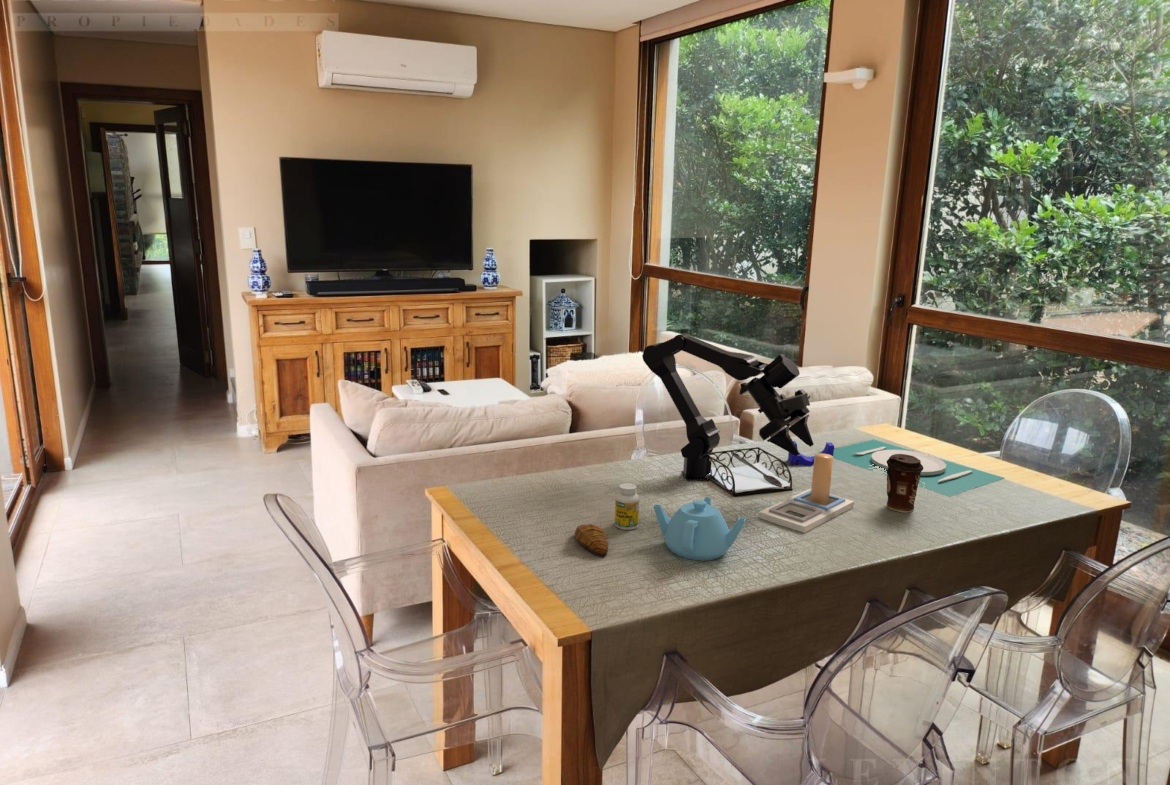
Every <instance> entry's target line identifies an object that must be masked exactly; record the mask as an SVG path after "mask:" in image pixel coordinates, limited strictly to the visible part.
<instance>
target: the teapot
mask: <svg viewBox="0 0 1170 785" xmlns="http://www.w3.org/2000/svg"><path fill="white" fill-rule="evenodd" d="M711 499H712V498H711V497H710V496H709V497H708V496H705V497H704V499H703V500H701V499H696V500H693V501H692V502H688V503H687V502H686V503H684V504H682V505H681V506H680V507H679V508H678V509H677V510H676V511H675V512H674V514H673V515H672V517H671V518H670V517H669V515H668V514H667V512H666V511H665V509H664V508H663V505H662V504H658V503H657V504H653V507H652V508H653V510H654V513H655V516H656V519H657V523H658V525H659V527H660V531H661V534H662V536H664V541H665V544H666V546H667V547H668V549H669V550H670V551H671V552H672V553H673V554H675V555H676V556H679V557H680V558H684V559H686V560H692V561H693V560H694V561H710V560H711V561H712V560H716V559H718V558H720V557H722V556H723V555H724V554H725V553H726V552H727V551H728V550H730V549H729V548H731V546H732V545H733V544H734V542H735V540H736V539H737V537H738V535H739V534H740V532H741V530H742V528H743V527H744V525H745V523H746V521H747V518H745V517H738V518H737V521H736V522H735V523H734V525H733V526H732V528H731V529H730V528H729V527H728V523H727V522H726V519H724V516H723V515H722V513H721V511H720V510H719V509H718V508H717V507H716V506H714V505H712V502H711V501H712V500H711Z"/></svg>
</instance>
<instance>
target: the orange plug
mask: <svg viewBox="0 0 1170 785" xmlns="http://www.w3.org/2000/svg"><path fill="white" fill-rule="evenodd" d="M814 456H815V457H814V464H813V468H812V478H811V496H810V501H811V502H815V503H818V504H821V505H825V506H827V505H829V494H831V493H830V492H831V485H832V484H831V483H832V472H833V466H834V465H833V463H834V458H833V456H831V455H829V454H822V453H819V452H818V453H815V454H814Z"/></svg>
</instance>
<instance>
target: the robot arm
mask: <svg viewBox="0 0 1170 785" xmlns="http://www.w3.org/2000/svg"><path fill="white" fill-rule="evenodd" d="M681 351H682V352H684V353H687V354H688V355H689V354H690V355H692V356H693V357H696V358H699V359H701V360H703V361H706V362H707V363H711V364H713V365H714V366H718V367H719V368H721V369H722V370H723V371H724V373H725V374H727V375H728V376H730V377H732V378H733V379H734V380H736V381H741V382H743V381H746V380H747V379H750V378H752V379H751V380H750V381H748V382H743V383H741V384H740V389H739V395H740V396H741V395H744V394H746V393H748V394H749V395H750V396H751V397H752V399H753V400H754V402H755V403H756V405H757V406H758V407H759V409H758V410H757V412H758V413H759V414H762V413H763V414H764V416H765V417H766V418H767V419H768V421H769V422H768V423H766V424H765V425H764V426H762V427H761V428H760V429H759V431H758V435H759V436H760V438H761V440H762V441H763V442H764V441H765V440H766V441H767V442H768V443H771V444H774V445H775V446H777V447H779V448H781V449H783V450H785V451H786V452H788V454H789V453H791V454H793V455H795V456H797V455H799V453H800V451H799V450H798V446H797V447H796V446H795V444H794V442H793V441H794V440H793V439H792V437H791V435H790V433H792V434H793V435H795V437H797V438H798V439H800V441H802V442H803V443H804V444H806V445H807V446H808V447H809V448H811V447H812V446H814V442H813V438H812V435H811V433H810V430H809V427H808V421H809V420H808V419H809V417H810V414H809V413H811V411H810V410H809V408H808V407H809V406H810V405H811V403H810V400H809V399H810V398H811V395H809V394H808V392H806V391H805V390H804V389H803V388H802V389H797V390H795V391H794V395H792V396H790V397H786V395H785V394H783V393H780V394H779V393H778V391H777V390H776V388H778V389H782V388H784V387H785V386H786V385H788V384H789V383H790V382H792V381H793V380H795V379H796V378H797V377H798V376H800V370H799V368H798V366H797V364H796V363H795V362H793V361H792V360H791V359H790V358H789V357H786V356H785V354H784V353H780V354H778V355H777V356H775V358H774V359H773V360H772V361H770V362H769V363H766V362H762V361H761V360H760V361H759V360H758V358H757V357H756V356H754V355H751V354H748V353H743V352H736V351H728V350H726V349H724V348H720V347H718V346H716V345H714V344H711V343H709V342H706V341H704V340H701V339H699V338H696V337H694V336H692V335H690V334H689V333H687V332H686V333H680V334H677V335H674V337H672V338H671V339H667V340H666V341H664V342H658V343H653V344H650V345H649V344H648V346H645V348H644V350H643V352H642V355H641V356H642V361H643V363H645V365H646V366H647V368H648V369H649V370H650V371H651V372H652V373H653V374H654V375H655V376H657V377H658V378H659V379H660V380H661V382H662V384H663V385H664V387H665V389H666V391H667V393H668V395H669V396H670V398H671V400H672V402H673V404H674V406H675V407H676V409H677V411H678V413H679V415H680V417H681V418H682V420H683V422H684V424H685V430H686V431H685V432H686V438H687V440H688V443H687V444H685V445H684V446H683V447H681V449H680V452H681V456H682V458H683V470H681V475H682V477H684V479H685V480H686V481H708V480H707V478H705V476H706V475H707V474H709V473H712V460H711V459H710V457H711V456H710V454H711V453H713V451H714V449H715V448H717V447H718V445H719V443H720V440H721V436H720V432H721V431H720V430H719V429H718V428H717V426H716V424H715V421H714V420H713V419H712V418H711V419H708V420H707V419H706V418H704V416H702V414H701V412H700V411H699V409H698V407H697V405H696V403H695V402H694V399H693V398H692V396H691V394H690V392H689V391H688V388H687V387H686V385H685V383H684V381H683V380H682V377H681V376H680V374H679V373H678V371H677V365H676V364H677V363H676V362H677V361H676V357H675V355H677V354H678V353H680V352H681ZM762 374H763V375H762ZM759 375H761V377H757V376H759Z"/></svg>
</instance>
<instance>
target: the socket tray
mask: <svg viewBox="0 0 1170 785" xmlns="http://www.w3.org/2000/svg"><path fill="white" fill-rule="evenodd" d="M810 496H811V488H807V489H806V490H803V491H802V492H800V493H798V494H795V495H793V496H790V497H788V498H786V499H785V500H781V501H779V502H778V503H775V504H773V505H771V506H769V507H767V508H765V509H762V510H760V511H759V512H758V519H761V520H763V521H767V522H770V523H774V524H776V525H779V526H782V527H785V528H788V529H792V530H795V531H796V532H797V531H798V532H801V533H802V534H803V533H804V534H806V533H808V532H809V531H811V530H812V529H815V528H816V527H819V526H820V525H822V524H824V523H826V522H828V521H830V520H832V519H833V517H834V518H836V517H837V516H839V515H841V514H843V513H845V512H847V511H849V510H851V509H853V508H854V506H855V501H854V500H852V499H848V498H844V497H841V496H838V495H835V494H831V493H830V494H829V504H828V505H827V506H825V505H821V504H818V503H815V502H811V501H810ZM787 512H794V513H797V514H800V515H802V516H803V517H800V516H796V515H793V514H791V513H787ZM835 516H836V517H835ZM831 518H832V519H831Z"/></svg>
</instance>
